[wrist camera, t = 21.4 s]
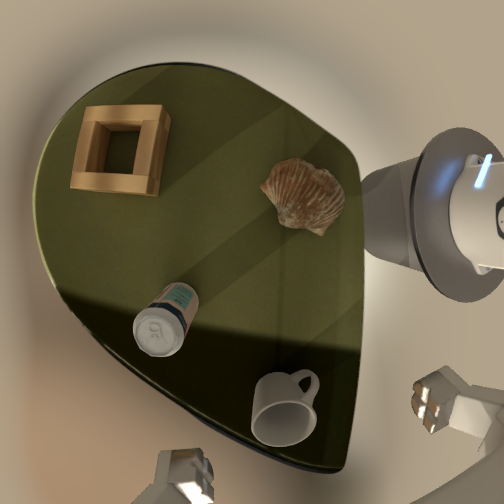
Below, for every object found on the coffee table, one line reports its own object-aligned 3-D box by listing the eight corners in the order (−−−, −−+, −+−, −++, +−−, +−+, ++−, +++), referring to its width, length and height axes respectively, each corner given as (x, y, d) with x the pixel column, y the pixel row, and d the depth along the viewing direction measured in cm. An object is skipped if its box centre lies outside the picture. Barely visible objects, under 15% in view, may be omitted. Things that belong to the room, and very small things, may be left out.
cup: (237, 392, 37) (237, 430, 29) (285, 342, 37) (297, 374, 28) (277, 416, 38) (286, 454, 29) (325, 370, 37) (344, 404, 29)
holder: (171, 118, 33) (162, 104, 28) (158, 196, 34) (145, 193, 29) (102, 118, 32) (86, 106, 27) (89, 190, 33) (69, 187, 28)
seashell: (305, 245, 36) (345, 196, 35) (320, 257, 29) (368, 197, 28) (247, 196, 34) (289, 146, 33) (248, 197, 28) (301, 135, 26)
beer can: (163, 318, 35) (134, 359, 23) (160, 281, 35) (125, 310, 23) (200, 318, 36) (184, 362, 24) (197, 280, 35) (179, 310, 23)
